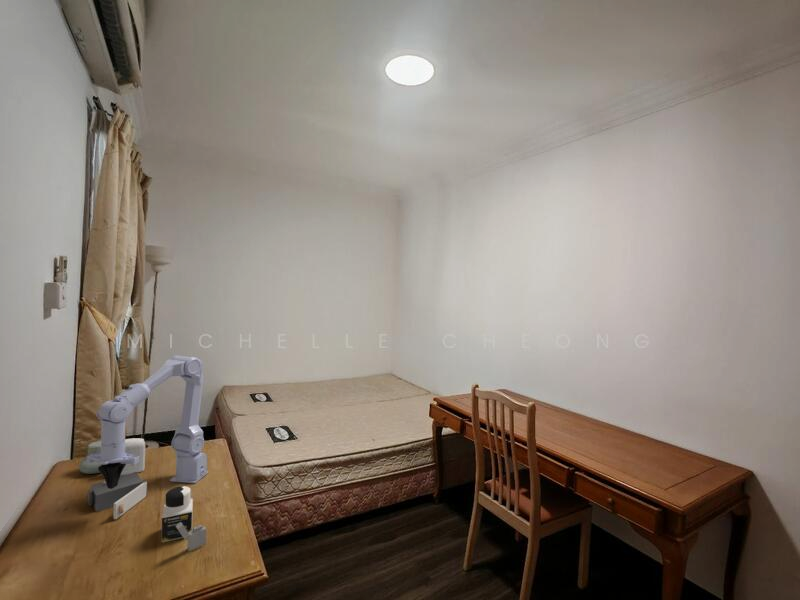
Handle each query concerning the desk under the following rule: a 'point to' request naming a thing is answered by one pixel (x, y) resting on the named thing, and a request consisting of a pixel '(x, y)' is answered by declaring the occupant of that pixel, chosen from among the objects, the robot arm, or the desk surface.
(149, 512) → the desk surface
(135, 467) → the photo printer
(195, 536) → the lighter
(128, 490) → the camera case
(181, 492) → the medicine bottle
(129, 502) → the side door
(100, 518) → the desk surface
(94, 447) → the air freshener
